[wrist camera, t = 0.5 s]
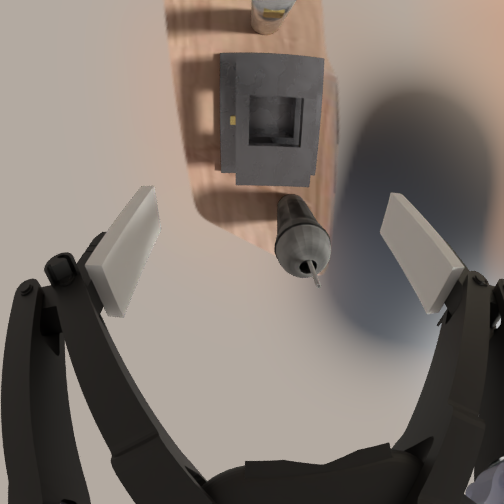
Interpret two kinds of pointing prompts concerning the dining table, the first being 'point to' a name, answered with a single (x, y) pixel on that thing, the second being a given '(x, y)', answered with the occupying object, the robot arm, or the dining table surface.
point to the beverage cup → (300, 239)
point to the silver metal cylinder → (269, 15)
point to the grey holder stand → (270, 117)
